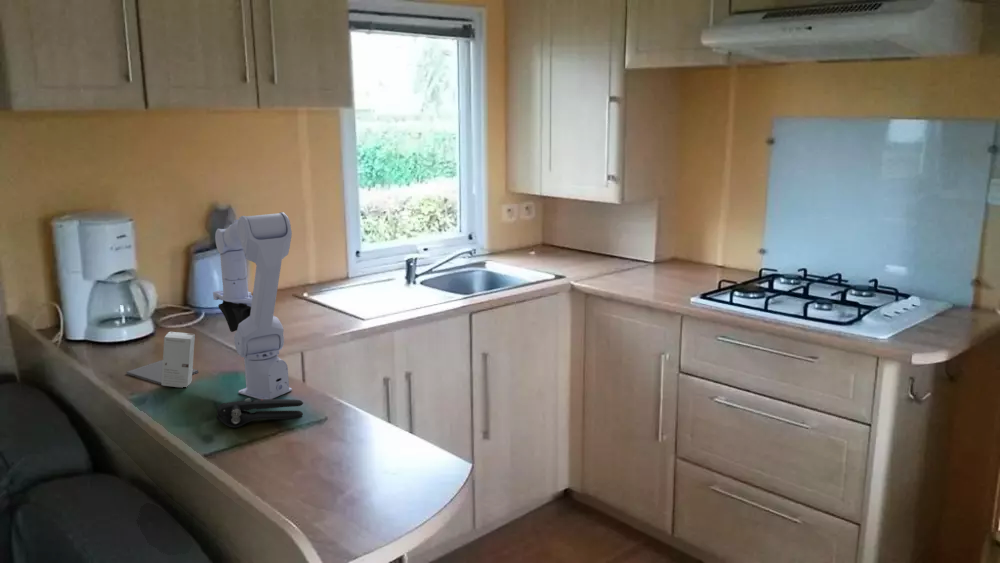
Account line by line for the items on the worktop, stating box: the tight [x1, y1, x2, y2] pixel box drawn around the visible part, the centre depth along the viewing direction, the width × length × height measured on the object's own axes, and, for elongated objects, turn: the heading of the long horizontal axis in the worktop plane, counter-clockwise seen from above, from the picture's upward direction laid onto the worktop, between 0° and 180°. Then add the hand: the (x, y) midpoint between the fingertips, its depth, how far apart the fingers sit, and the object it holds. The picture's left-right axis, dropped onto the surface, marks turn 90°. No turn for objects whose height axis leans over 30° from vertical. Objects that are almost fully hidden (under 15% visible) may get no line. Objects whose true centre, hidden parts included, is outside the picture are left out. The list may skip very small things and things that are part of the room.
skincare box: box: [160, 331, 196, 388], centre depth 187 cm, size 6×4×12 cm
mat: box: [125, 359, 199, 385], centre depth 196 cm, size 14×10×1 cm
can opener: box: [215, 397, 304, 429], centre depth 169 cm, size 18×7×6 cm, turn 109°
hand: (239, 331), depth 195 cm, fingers open, 3 cm apart
